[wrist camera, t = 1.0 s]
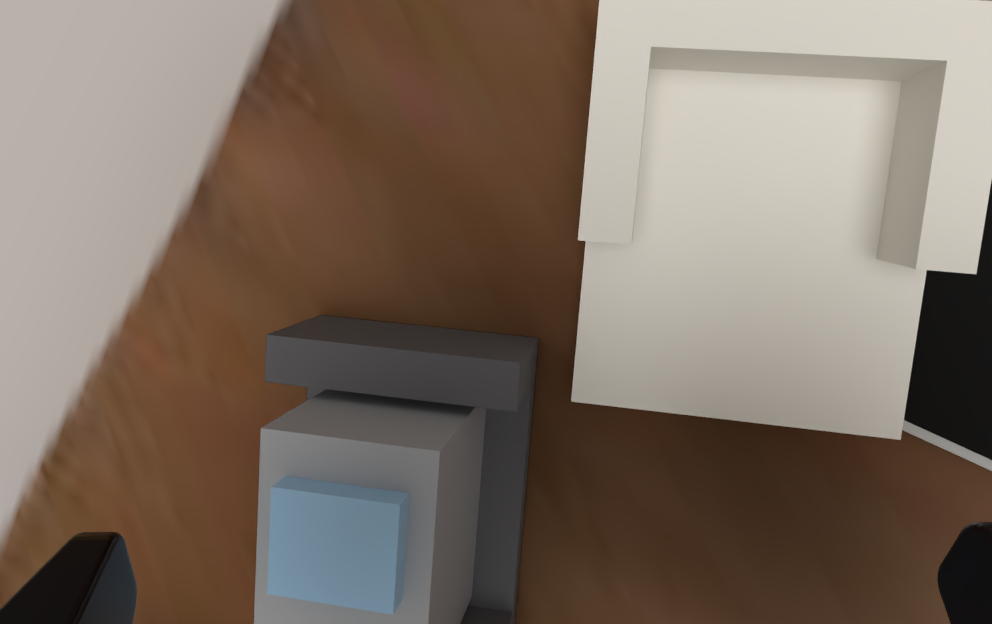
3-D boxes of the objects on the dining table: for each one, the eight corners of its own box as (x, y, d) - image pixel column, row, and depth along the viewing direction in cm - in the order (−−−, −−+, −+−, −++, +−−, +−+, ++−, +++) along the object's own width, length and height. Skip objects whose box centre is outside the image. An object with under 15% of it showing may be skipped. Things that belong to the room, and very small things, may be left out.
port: (891, 431, 22) (943, 479, 18) (573, 394, 23) (560, 432, 19) (950, 38, 20) (1020, 1, 17) (607, 23, 22) (600, -14, 18)
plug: (472, 596, 24) (413, 733, 17) (338, 575, 24) (237, 700, 18) (487, 391, 23) (431, 461, 17) (348, 375, 23) (245, 437, 17)
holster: (513, 637, 24) (492, 710, 21) (308, 603, 25) (254, 669, 22) (539, 337, 23) (520, 362, 19) (321, 315, 24) (266, 334, 20)
